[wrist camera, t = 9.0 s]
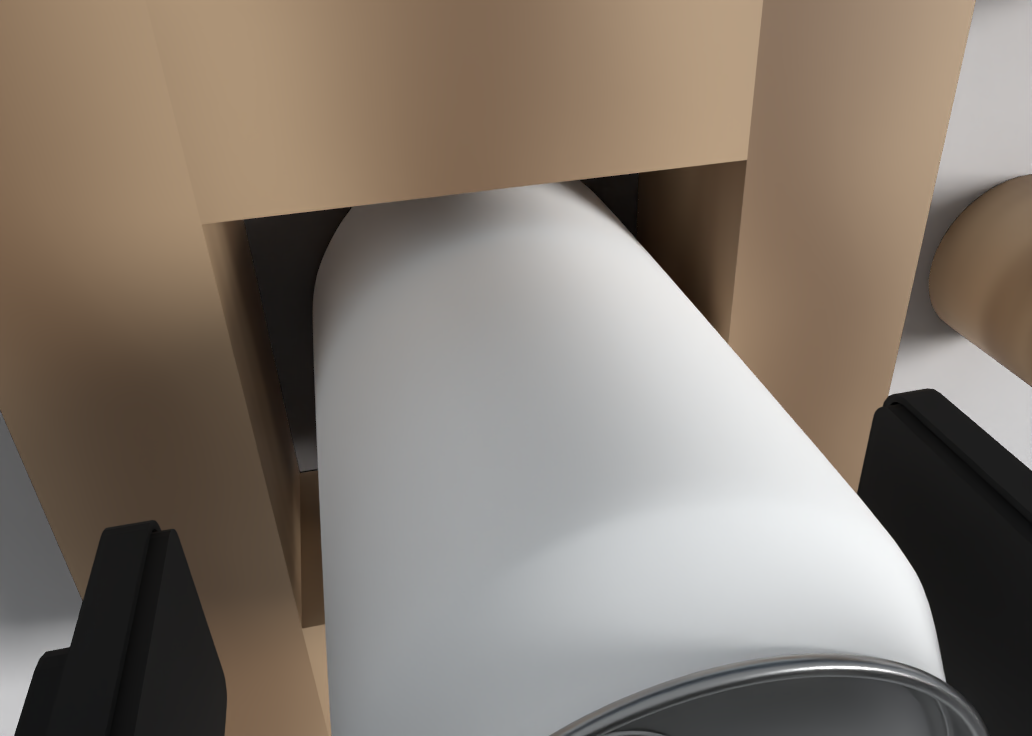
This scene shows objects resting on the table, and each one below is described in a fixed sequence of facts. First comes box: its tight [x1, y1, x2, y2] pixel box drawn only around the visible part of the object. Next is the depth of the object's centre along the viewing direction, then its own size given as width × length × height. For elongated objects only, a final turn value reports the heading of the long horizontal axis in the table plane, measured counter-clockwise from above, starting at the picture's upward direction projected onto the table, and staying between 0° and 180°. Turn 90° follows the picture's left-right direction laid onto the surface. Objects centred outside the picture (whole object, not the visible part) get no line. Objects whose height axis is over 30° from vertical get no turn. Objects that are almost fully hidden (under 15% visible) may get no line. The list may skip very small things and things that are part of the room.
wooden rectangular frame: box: [0, 0, 976, 736], centre depth 16 cm, size 14×14×4 cm
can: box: [313, 180, 990, 736], centre depth 13 cm, size 6×6×12 cm
